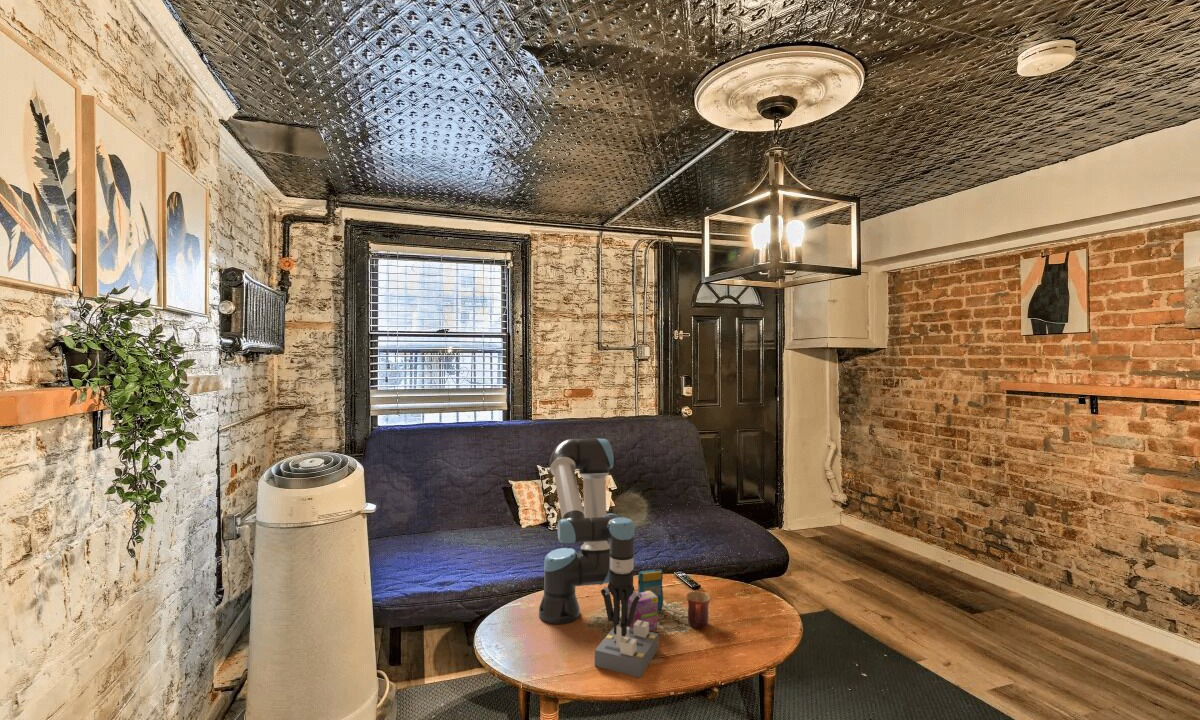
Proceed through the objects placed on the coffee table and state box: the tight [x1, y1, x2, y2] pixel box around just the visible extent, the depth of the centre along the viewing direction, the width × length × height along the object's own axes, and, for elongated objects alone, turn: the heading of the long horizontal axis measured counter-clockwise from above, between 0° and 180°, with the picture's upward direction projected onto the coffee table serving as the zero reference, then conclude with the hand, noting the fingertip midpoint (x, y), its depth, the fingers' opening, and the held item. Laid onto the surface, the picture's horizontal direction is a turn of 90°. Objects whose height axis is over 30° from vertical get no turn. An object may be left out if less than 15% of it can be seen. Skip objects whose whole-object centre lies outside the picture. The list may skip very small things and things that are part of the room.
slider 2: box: [620, 637, 637, 656], centre depth 170 cm, size 4×4×4 cm
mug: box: [685, 590, 712, 630], centre depth 196 cm, size 12×9×10 cm
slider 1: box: [613, 627, 629, 641], centre depth 177 cm, size 4×4×4 cm
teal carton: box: [637, 568, 664, 613], centre depth 208 cm, size 10×4×15 cm, turn 108°
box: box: [627, 590, 658, 632], centre depth 194 cm, size 10×6×12 cm, turn 117°
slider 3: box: [634, 620, 650, 638], centre depth 181 cm, size 4×4×4 cm
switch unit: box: [594, 627, 659, 679], centre depth 176 cm, size 15×18×5 cm
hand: (620, 645), depth 171 cm, fingers closed
